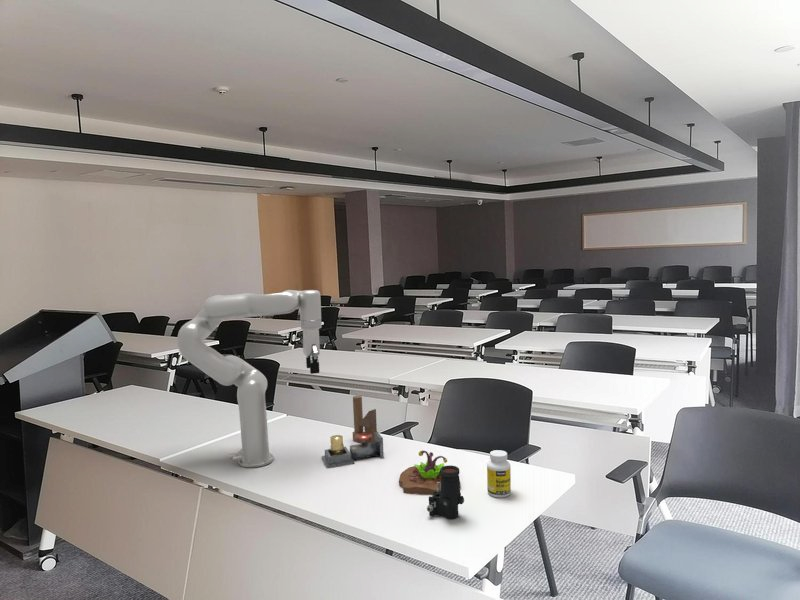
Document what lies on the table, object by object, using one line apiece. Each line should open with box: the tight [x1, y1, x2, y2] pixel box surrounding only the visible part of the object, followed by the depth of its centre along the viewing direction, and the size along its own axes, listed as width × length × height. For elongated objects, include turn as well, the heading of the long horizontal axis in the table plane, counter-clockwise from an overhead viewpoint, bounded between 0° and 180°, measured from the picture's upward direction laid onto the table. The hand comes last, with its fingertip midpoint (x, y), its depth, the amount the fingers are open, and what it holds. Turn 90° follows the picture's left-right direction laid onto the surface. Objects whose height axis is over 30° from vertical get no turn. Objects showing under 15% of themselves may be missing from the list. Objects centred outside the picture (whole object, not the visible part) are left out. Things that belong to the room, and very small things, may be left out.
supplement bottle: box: [486, 449, 512, 498], centre depth 176 cm, size 7×7×13 cm
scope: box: [426, 465, 465, 520], centre depth 164 cm, size 8×14×10 cm
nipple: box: [329, 434, 345, 456], centre depth 208 cm, size 5×5×8 cm
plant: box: [398, 450, 448, 496], centre depth 187 cm, size 20×20×11 cm
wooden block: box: [352, 395, 378, 444], centre depth 226 cm, size 4×11×18 cm, turn 46°
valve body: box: [321, 431, 385, 469], centre depth 210 cm, size 21×10×8 cm, turn 108°
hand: (312, 370), depth 210 cm, fingers open, 9 cm apart
